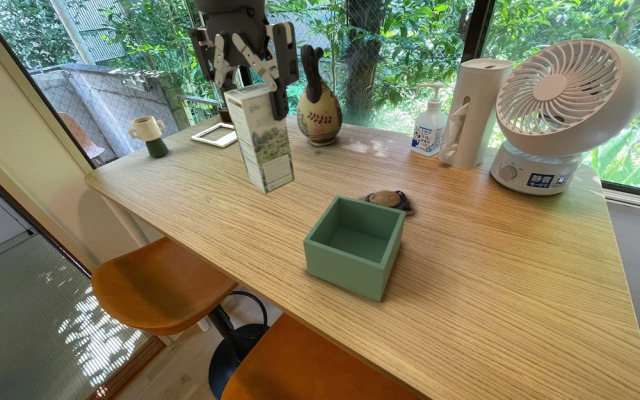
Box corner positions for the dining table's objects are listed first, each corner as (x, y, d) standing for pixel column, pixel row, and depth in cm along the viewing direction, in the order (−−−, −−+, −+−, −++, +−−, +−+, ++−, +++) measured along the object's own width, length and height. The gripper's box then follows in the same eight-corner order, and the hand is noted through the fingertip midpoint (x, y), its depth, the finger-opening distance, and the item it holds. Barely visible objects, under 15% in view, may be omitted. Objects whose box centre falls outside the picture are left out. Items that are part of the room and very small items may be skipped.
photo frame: (222, 144, 91) (191, 136, 99) (223, 147, 92) (192, 139, 100) (250, 128, 100) (220, 122, 109) (251, 131, 101) (221, 125, 109)
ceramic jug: (308, 130, 98) (298, 39, 80) (347, 132, 94) (346, 37, 75) (291, 150, 86) (274, 49, 67) (335, 154, 81) (330, 47, 63)
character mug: (171, 146, 97) (155, 112, 89) (179, 151, 93) (162, 116, 84) (141, 157, 91) (120, 122, 83) (148, 163, 87) (127, 127, 79)
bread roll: (368, 221, 57) (368, 209, 54) (360, 198, 63) (361, 186, 61) (415, 216, 57) (418, 203, 54) (402, 193, 63) (404, 181, 61)
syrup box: (278, 168, 45) (259, 80, 36) (296, 181, 41) (281, 86, 32) (249, 181, 42) (221, 90, 34) (266, 196, 39) (240, 98, 30)
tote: (379, 302, 42) (384, 269, 36) (308, 273, 47) (302, 241, 42) (400, 244, 51) (406, 211, 45) (338, 225, 56) (336, 194, 51)
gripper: (139, -41, 25) (200, 120, 35) (252, -69, 19) (286, 133, 30) (198, -37, 30) (236, 103, 40) (301, -58, 25) (316, 111, 35)
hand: (257, 115), depth 35 cm, fingers closed on syrup box, 7 cm apart
